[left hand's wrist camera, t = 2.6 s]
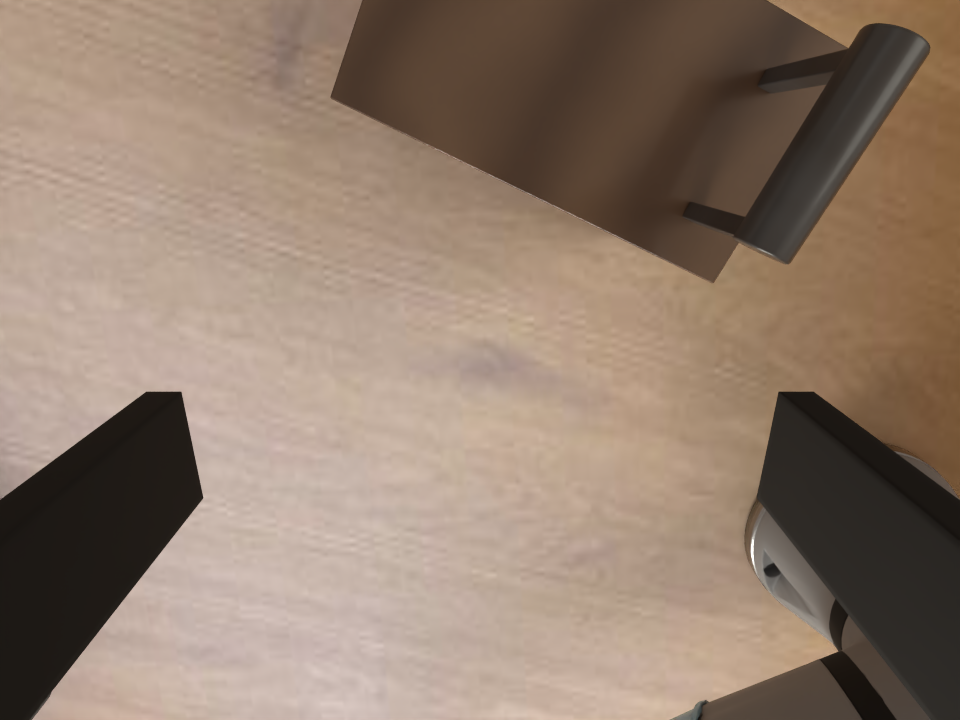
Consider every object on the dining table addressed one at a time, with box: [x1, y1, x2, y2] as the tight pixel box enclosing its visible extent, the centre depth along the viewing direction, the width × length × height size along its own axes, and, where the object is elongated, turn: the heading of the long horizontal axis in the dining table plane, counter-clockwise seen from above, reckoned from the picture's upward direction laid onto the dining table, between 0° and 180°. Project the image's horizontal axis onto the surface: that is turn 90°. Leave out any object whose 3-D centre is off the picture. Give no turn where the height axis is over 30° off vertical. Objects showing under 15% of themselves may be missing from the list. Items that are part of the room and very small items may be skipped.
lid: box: [331, 0, 930, 283], centre depth 19 cm, size 18×10×9 cm, turn 65°
